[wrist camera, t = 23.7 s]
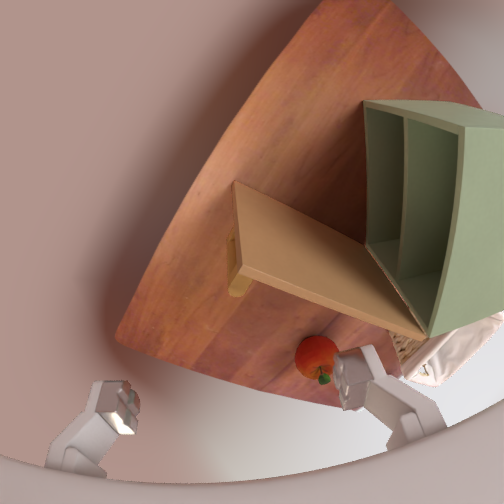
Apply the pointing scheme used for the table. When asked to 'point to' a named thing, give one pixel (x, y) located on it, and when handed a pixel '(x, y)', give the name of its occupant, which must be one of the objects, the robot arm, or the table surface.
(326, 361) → the fruit
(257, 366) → the table surface
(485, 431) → the robot arm
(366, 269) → the cupboard door
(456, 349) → the basket
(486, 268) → the cupboard
